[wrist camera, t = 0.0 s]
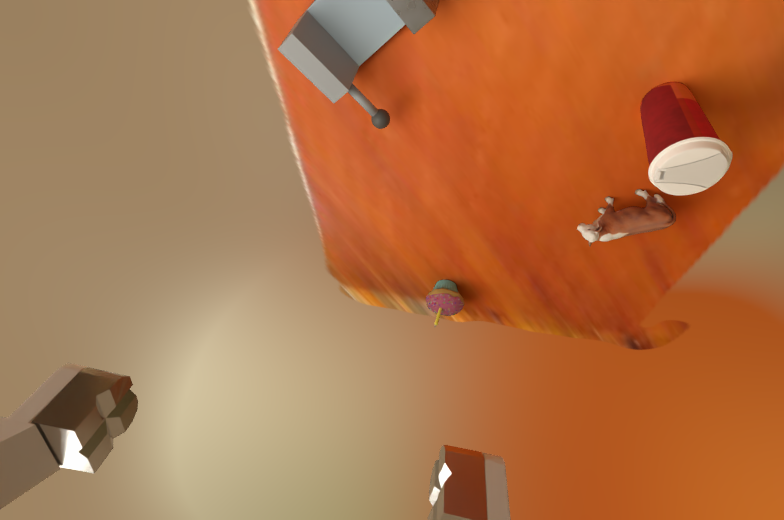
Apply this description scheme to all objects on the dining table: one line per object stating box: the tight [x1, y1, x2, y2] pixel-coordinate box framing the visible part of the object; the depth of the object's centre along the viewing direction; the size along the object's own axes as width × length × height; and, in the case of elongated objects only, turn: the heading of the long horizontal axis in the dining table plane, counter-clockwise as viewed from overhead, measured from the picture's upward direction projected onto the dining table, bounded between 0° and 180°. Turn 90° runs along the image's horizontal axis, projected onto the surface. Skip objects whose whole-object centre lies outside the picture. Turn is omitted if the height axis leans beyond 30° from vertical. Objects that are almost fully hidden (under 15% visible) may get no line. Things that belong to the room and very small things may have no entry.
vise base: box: [278, 0, 405, 129], centre depth 51 cm, size 18×17×8 cm
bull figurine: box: [577, 189, 676, 246], centre depth 66 cm, size 4×13×8 cm, turn 114°
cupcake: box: [426, 280, 464, 327], centre depth 93 cm, size 9×8×12 cm
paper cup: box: [640, 82, 732, 195], centre depth 50 cm, size 8×8×14 cm
